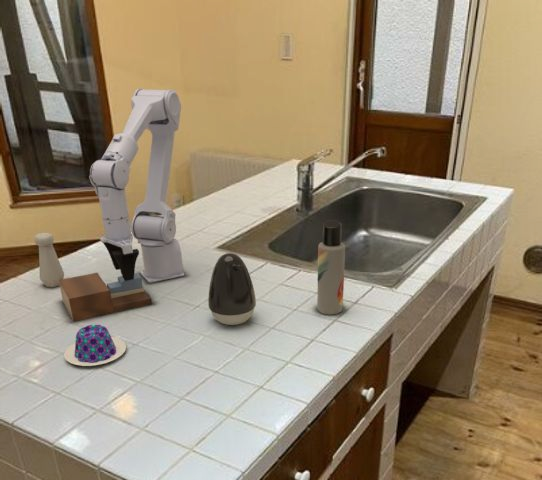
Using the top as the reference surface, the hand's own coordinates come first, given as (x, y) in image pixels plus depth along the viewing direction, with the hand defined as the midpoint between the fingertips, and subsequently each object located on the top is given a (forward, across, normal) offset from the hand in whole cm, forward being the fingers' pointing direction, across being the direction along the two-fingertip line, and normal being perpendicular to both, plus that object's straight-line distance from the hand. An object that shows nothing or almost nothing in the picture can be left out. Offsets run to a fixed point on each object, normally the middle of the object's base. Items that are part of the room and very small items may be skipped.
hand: (124, 274), depth 141 cm
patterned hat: (+6, +23, -13) cm, 27 cm away
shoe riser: (+6, 0, -5) cm, 8 cm away
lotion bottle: (+6, +29, +38) cm, 48 cm away
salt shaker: (+6, -18, -14) cm, 24 cm away
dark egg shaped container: (+6, +23, +17) cm, 29 cm away
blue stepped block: (+5, 0, 0) cm, 5 cm away
